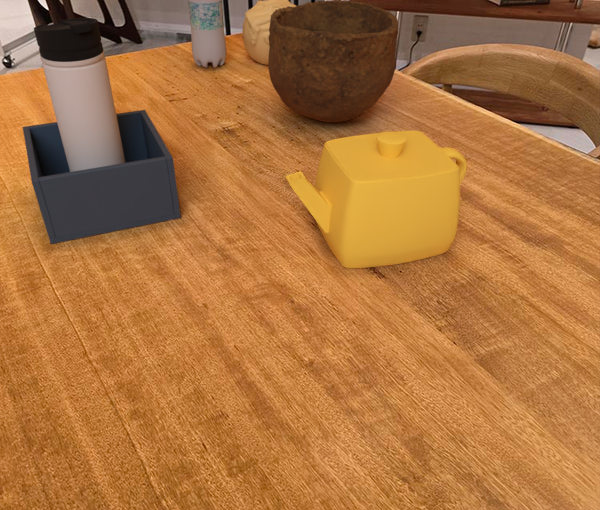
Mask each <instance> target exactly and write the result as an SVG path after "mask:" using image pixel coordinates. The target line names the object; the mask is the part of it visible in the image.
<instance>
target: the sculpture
mask: <svg viewBox="0 0 600 510" xmlns="http://www.w3.org/2000/svg"><path fill="white" fill-rule="evenodd" d="M288 6H289V7H296V6H297V5H296V4H294V3H292V2H291V1H290V0H257V2H256V3H255V5H254V6H252V7H251V8H249V9H247V11H246V12H244V16H245V17H244V20H243V24H242V31H241V32H242V33H241V34H242V42H243V46H244V48H245V50H246V52H247V54H248V56H249V57H250V58H251V59H252V60H254V62H257V63H259V64H262V65H265V66H268V60H269V34H270V32H269V27H270V20H271V15H272V14H273V12H275V10H277V9H279V8H286V7H288Z"/></svg>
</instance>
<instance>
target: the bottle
mask: <svg viewBox="0 0 600 510" xmlns="http://www.w3.org/2000/svg"><path fill="white" fill-rule="evenodd" d="M187 2H188V12H189V13H188V15H189V23H190V34H191V35H190V37H191V38H190V39H191V40H190V41H191V55H192V57H193V61H194V62H195V65H197V66H198V67H201V66H202V67H203V68H205V69H207V68H208V67H209V63H211V64H212V67H213V68H214V69H215V68H217V67H218V66H223V65H224V64H225V63H226V60H227V43H226V36H225V27H224V9H223V0H187Z"/></svg>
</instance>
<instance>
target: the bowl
mask: <svg viewBox="0 0 600 510" xmlns="http://www.w3.org/2000/svg"><path fill="white" fill-rule="evenodd" d="M399 24H400V23H399V20H398V18H397V16H396V15H394V14H393V13H391V11H389V10H386V9H385V8H381V7H380V6H375V5H374V4H370V3H368V2H361V1H354V0H317V1H314V2H312V1H308V2H305V3H303V4H297V5H296V7H289V6H288V7H286V8H279V9H277V10H275V12H273V14H272V15H271V20H270V27H269V32H270V34H269V60H268V65H267V69H268V74H269V78H270V82H271V85H272V86H273V88H274V90H275V92H276V93H277V95H278V96H279V98H280V100H281V101H282V103H283V104H284V105H285V106H286V107H288V108H289V109H290V110H292V111H294V112H295V113H297V114H299V115H301V116H303V117H307V118H309V119H310V118H311V119H312V120H316V121H320V122H324V123H341V122H346V121H350V120H353V119H356V118H358V117H359V116H361V115H363V114H364V113H366V112H367V111H368V110H370V109H371V108H373V106H374V105H376V103H378V101H379V99H381V97H382V96H383V94H384V93H385V92H386V90H387V89H388V88H389V87H390V85H391V83H392V80H393V78H394V75H395V71H396V68H397V61H396V55H397V54H396V53H397V46H398V35H399V29H400V27H399Z"/></svg>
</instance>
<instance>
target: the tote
mask: <svg viewBox="0 0 600 510" xmlns="http://www.w3.org/2000/svg"><path fill="white" fill-rule="evenodd" d="M116 116H117V121H118V126H119V132H120V137H121V142H122V147H123V153H124V158H125V163H122V164H116V165H110V166H104V167H98V168H92V169H86V170H80V171H74V172H70V170H69V166H68V162H67V158H66V154H65V150H64V147H63V143H62V139H61V135H60V131H59V127H58V123H57V121H53V122H47V123H38V124H32V125H26V126H22V131H23V138H24V145H25V151H26V156H27V163H28V169H29V174H30V181H31V184H32V188H33V190H34V194H35V197H36V200H37V203H38V207H39V211H40V215H41V216H42V220H43V223H44V226H45V230H46V233H47V236H48V240H49V243H50V245H53V244H58V243H64V242H69V241H73V240H78V239H83V238H87V237H88V238H89V237H92V236H93V237H94V236H99V235H103V234H108V233H113V232H117V231H123V230H128V229H133V228H138V227H142V226H143V227H144V226H147V225H152V224H157V223H162V222H168V221H173V220H177V219H182V215H181V208H180V201H179V194H178V192H179V191H178V185H177V178H176V171H175V170H176V169H175V163H174V157H173V155H172V154H171V152H170V151H169V148H168V147H167V145H166V144H165V142H164V140H163V138H162V137H161V135H160V133H159V131H158V129H157V128H156V126H155V124H154V123H153V121H152V119H151V118H150V116H149V114H148V112H147V111H146V109H140V110H132V111H126V112H118V113H116Z"/></svg>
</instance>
